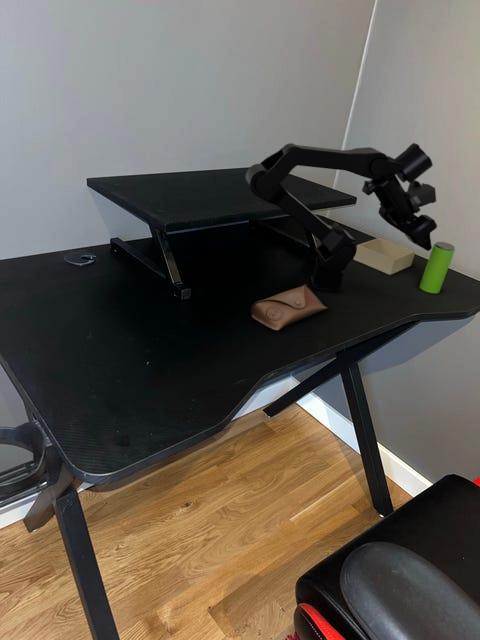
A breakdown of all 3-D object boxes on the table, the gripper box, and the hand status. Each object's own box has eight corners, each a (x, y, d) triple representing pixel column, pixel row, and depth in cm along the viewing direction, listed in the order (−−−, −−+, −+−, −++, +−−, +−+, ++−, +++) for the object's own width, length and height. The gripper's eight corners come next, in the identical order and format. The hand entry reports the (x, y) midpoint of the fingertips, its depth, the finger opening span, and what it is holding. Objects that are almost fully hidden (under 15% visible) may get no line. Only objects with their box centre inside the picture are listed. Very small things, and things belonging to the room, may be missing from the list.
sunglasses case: (278, 331, 93) (270, 300, 92) (255, 333, 99) (247, 303, 98) (330, 307, 105) (323, 279, 104) (306, 310, 110) (300, 283, 109)
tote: (389, 275, 127) (394, 260, 124) (353, 259, 134) (356, 245, 131) (410, 265, 134) (415, 251, 132) (375, 251, 141) (379, 237, 139)
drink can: (423, 292, 119) (438, 247, 113) (416, 283, 124) (431, 240, 117) (442, 294, 119) (459, 250, 113) (435, 285, 124) (451, 242, 117)
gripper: (443, 183, 96) (470, 235, 104) (403, 163, 112) (429, 209, 120) (398, 217, 99) (428, 266, 107) (365, 193, 115) (393, 236, 122)
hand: (420, 242), depth 114 cm, fingers open, 9 cm apart
